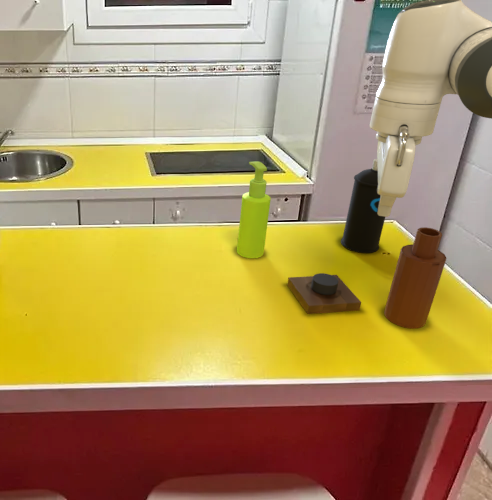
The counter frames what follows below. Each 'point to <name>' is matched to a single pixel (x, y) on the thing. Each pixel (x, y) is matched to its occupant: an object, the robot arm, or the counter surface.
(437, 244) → the bottle
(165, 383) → the counter surface
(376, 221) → the aerosol can
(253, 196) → the soap dispenser
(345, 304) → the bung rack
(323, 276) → the cylinder
